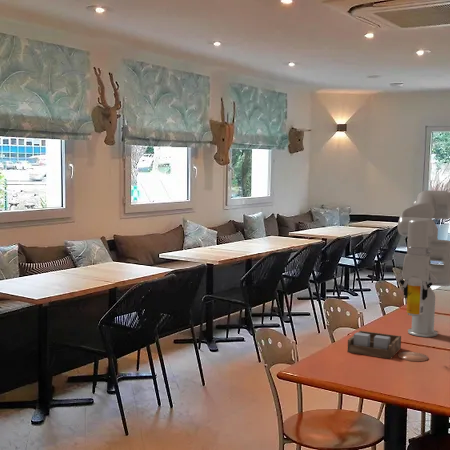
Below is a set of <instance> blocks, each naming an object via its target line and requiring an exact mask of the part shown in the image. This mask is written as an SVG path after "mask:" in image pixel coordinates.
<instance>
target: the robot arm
mask: <svg viewBox="0 0 450 450" xmlns="http://www.w3.org/2000/svg"><path fill="white" fill-rule="evenodd" d="M412 202H413V203H412V206H410V207H407V208H405V209H404V210H402V211H401V213H400V215H399V219H398V222H397V232H398V234H399V235H400V236H403V237H407V242H406V243H407V244H406V246H407V247H406V249H407V250H406V253H405V255H404V259H403V264H402V270H401V272H400V273H399V274H397V275H396V276H395V279H396V280H397V281H398V282H399V283H400V284H401V286H402V288H403V296H405V297H404V298H405V299H407V290H408V280H409V279H410V278H411V277H419V278H420V279H421V281H422V282H423V286H424V289H423V295H422V299H423V300H424V302H423V314H422V315H421V316H411V328H408V329H407V333H408V334H410V335H412V336H415V337H416V336H417V337H421V338H431V337H436V336H438V331H437V330H435V316H436V315H435V313H436V294H435V292H434V290H433V289H432V286H436V287H450V240H445V239H438V235H439V229H438V226H437V225H436V224H437V223H436V222H435V220H436V219H437V220H439V219H440V220H448V219H450V192H449V191H447V190H430V189H429V190H423V191H421V192H419V193H418V194H417V196H416V200H414V201H412ZM431 262H441V263H443V264H441V263H439V264H438V263H431Z"/></svg>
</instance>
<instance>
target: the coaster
mask: <svg viewBox="0 0 450 450" xmlns="http://www.w3.org/2000/svg"><path fill="white" fill-rule="evenodd" d="M397 357H398V358H399V359H401V360H404V361H408V362H417V363H419V362H426V361H428V360H429V358H428V357H429V356H428V355H426V354H424V353H421V352H416V351H402V352H398V354H397Z"/></svg>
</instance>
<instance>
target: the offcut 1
mask: <svg viewBox="0 0 450 450" xmlns="http://www.w3.org/2000/svg"><path fill="white" fill-rule="evenodd" d="M358 332H359V331H358ZM358 332H357V331H356V332H355V333H354V334H353V336H354V345H358V346H365V347H370V334H366V333H358Z"/></svg>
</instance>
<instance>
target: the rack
mask: <svg viewBox="0 0 450 450" xmlns="http://www.w3.org/2000/svg"><path fill="white" fill-rule="evenodd" d="M358 333H366V334H370V347H365V346H358V345H354V335H352V336H351V337H350V338H348V339H347V353H353V354H358V355H365V356H370V357H377V358H383V359H389V360H390V359H392V358H393V357H394V356H395V355H396V354H397V353H399V350H401V347H402V336H401V335H396V334H387V333H380V332H372V331H366V330H359V331H358ZM376 335H380V336H388V337H391V338H390V345H389V346H388V350H385V349H379V348H374V337H375V336H376Z"/></svg>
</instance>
